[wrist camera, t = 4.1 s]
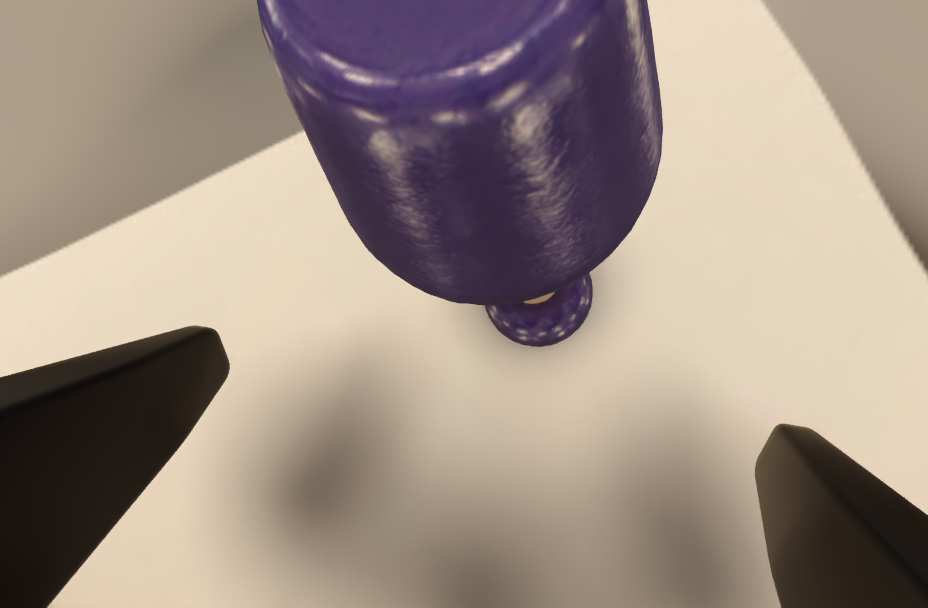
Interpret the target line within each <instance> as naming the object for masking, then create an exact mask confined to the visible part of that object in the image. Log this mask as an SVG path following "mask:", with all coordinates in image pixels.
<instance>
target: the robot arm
mask: <svg viewBox="0 0 928 608" xmlns="http://www.w3.org/2000/svg"><path fill="white" fill-rule="evenodd" d="M229 369H230V363H229V360H228V357H227V355H226V352H225V349H224V347H223V344H222V341H221V339H220V336H219V334H218V333H217V331H216V330H214V329H212V328H207V327H202V326H188V327H185V328H181V329H177V330H173V331H170V332H166V333H162V334H159V335H155V336H151V337H148V338H144V339H140V340H137V341H133V342H129V343H126V344H122V345H118V346H115V347H111V348H107V349H103V350H100V351H96V352H92V353H89V354H85V355H81V356H78V357H74V358H70V359H67V360H63V361H59V362H56V363H52V364H48V365H45V366H41V367H37V368H34V369H30V370H26V371H22V372H19V373H15V374H11V375H8V376H4V377H0V608H47V607H48V606H49V605H50V603H51V602H52V601H53V600H54V598H55V597H56V596H57V595H58V594H59V592H60V591H61V590H62V589H63V588H64V586H65V585H66V584H67V583H68V582H69V580H70V579H71V578H72V577H73V576H74V574H75V573H76V572H77V571H78V569H79V568H80V567H81V566H82V565H83V563H84V562H85V561H86V560H87V559H88V557H89V556H90V555H91V554H92V553H93V551H94V550H95V549H96V548H97V546H98V545H99V544H100V543H101V542H102V540H103V539H104V538H105V537H106V536H107V534H108V533H109V532H110V531H111V530H112V528H113V527H114V526H115V525H116V524H117V522H118V521H119V520H120V519H121V517H122V516H123V515H124V514H125V513H126V511H127V510H128V509H129V508H130V507H131V505H132V504H133V503H134V502H135V501H136V499H137V498H138V497H139V496H140V495H141V493H142V492H143V491H144V490H145V488H146V487H147V486H148V485H149V484H150V482H151V481H152V480H153V479H154V478H155V476H156V475H157V474H158V473H159V472H160V470H161V469H162V468H163V467H164V466H165V464H166V463H167V462H168V461H169V459H170V458H171V457H172V456H173V455H174V453H175V452H176V451H177V450H178V448H179V447H180V446H181V445H182V443H183V442H184V441H185V439H186V438H187V436H188V435H189V433H190V432H191V431H192V429H193V428H194V426H195V425H196V423H197V422H198V420H199V419H200V417H201V416H202V414H203V413H204V411H205V410H206V408H207V407H208V405H209V404H210V402H211V401H212V399H213V398H214V396H215V395H216V393H217V392H218V391H219V389H220V388H221V386H222V385H223V383H224V382H225V380H226V378H227V376H228V374H229ZM755 479H756V485H757V491H758V497H759V503H760V509H761V515H762V521H763V527H764V533H765V539H766V545H767V551H768V557H769V562H770V567H771V572H772V576H773V579H774V583H775V587H776V591H777V594H778V597H779V601H780V604H781V608H928V515H927V514H925V513H924V512H923V511H921V510H920V509H919V508H917V507H916V506H915V505H913V504H912V503H910V502H909V501H908V500H906V499H905V498H904V497H902V496H901V495H900V494H898V493H897V492H896V491H894V490H893V489H892V488H890V487H889V486H888V485H886V484H885V483H884V482H882V481H881V480H880V479H878V478H877V477H876V476H874V475H873V474H872V473H870V472H869V471H868V470H866V469H865V468H864V467H862V466H861V465H859V464H858V463H857V462H855V461H854V460H853V459H851V458H850V457H849V456H847V455H846V454H845V453H843V452H842V451H841V450H839V449H838V448H837V447H835V446H834V445H833V444H831V443H830V442H829V441H827V440H826V439H825V438H823V437H822V436H821V435H819V434H818V433H817V432H815V431H814V430H812V429H810V428H807V427H801V426H795V425H789V424H779V425H777V426H776V427H775V428H774V430H773V431H772V433H771V435H770V437H769V438H768V440H767V442H766V444H765V446H764V447H763V449H762V451H761V453H760V455H759V457H758V459H757V462H756V467H755Z"/></svg>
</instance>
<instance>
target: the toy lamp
mask: <svg viewBox="0 0 928 608" xmlns="http://www.w3.org/2000/svg"><path fill="white" fill-rule="evenodd" d="M257 4H258V10H259V15H260V21H261V27H262V31H263V34H264V37H265V40H266V42H267V45H268V48H269V51H270V54H271V56H272V59H273V62H274V64H275V68H276V70H277V73H278V76H279V78H280V80H281V82H282V84H283V86H284V88H285V90H286V93H287V95H288V97H289V99H290V101H291V103H292V106H293V108H294V110H295V112H296V114H297V116H298V118H299V120H300V122H301V124H302V126H303V128H304V130H305V132H306V135H307V137H308V139H309V141H310V143H311V146H312V148H313V150H314V152H315V154H316V157H317V159H318V161H319V163H320V165H321V167H322V169H323V171H324V173H325V175H326V177H327V179H328V181H329V183H330V185H331V187H332V189H333V191H334V193H335V195H336V198H337V200H338V202H339V204H340V206H341V208H342V210H343V212H344V214H345V216H346V218H347V219H348V221H349V223H350V225H351V226H352V228H353V229H354V231H355V232H356V233H357V235H358V236H359V238H360V239H361V241H362V242H363V244H364V245H365V247H366V248H367V249H368V250H369V251H370V252H371V253H372V254H373V255H374V257H375V258H376V259H377V260H379V261H380V262H381V263H383V264H384V265H385V266H386V267H387V268H388V269H389V270H390V271H391V272H393V273H394V274H395V275H397V276H398V277H400V278H401V279H403V280H405V281H406V282H408V283H409V284H411V285H412V286H414V287H416V288H418V289H420V290H422V291H424V292H426V293H428V294H431V295H433V296H436V297H439V298H442V299H445V300H448V301H451V302H456V303H470V304H476V305H485V308H486V311H487V313H488V316H489V318H490V319H491V321H492V322H493V324H494V325H495V326H496V328H497V329H498V330H499V331H500V332H501V333H502V334H503V335H505V336H506V337H507V338H509V339H511V340H513V341H514V342H517V343H520V344H523V345H529V346H537V347H541V346H547V345H553V344H556V343H558V342H560V341H562V340H564V339H566V338H568V337H569V336H570V335H572V334H573V333H574V332H575V331H576V330H577V329H578V328H579V327H580V326H581V325H582V323H583V322H584V320H585V319H586V317H587V315H588V312H589V310H590V307H591V302H592V280H591V277H590V274H589V272H590V271H592V270H593V269H594V268H595V267H597V266H598V265H599V264H600V263H601V262H603V261H604V260H605V259H606V258H607V257H608V256H609V255H610V254H611V253H612V252H613V251H614V250H615V249H616V248H617V247H618V245H619V244H620V243H621V242H622V241H623V239H624V238H625V237H626V236H627V235H628V233H629V232H630V231H631V230H632V228H633V226H634V224H635V222H636V221H637V219H638V217H639V216H640V214H641V212H642V210H643V208H644V206H645V204H646V202H647V200H648V198H649V196H650V193H651V190H652V188H653V185H654V182H655V179H656V176H657V171H658V167H659V163H660V158H661V149H662V134H663V123H662V107H661V98H660V89H659V81H658V75H657V68H656V62H655V53H654V45H653V37H652V29H651V22H650V16H649V10H648V4H647V0H257Z"/></svg>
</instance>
